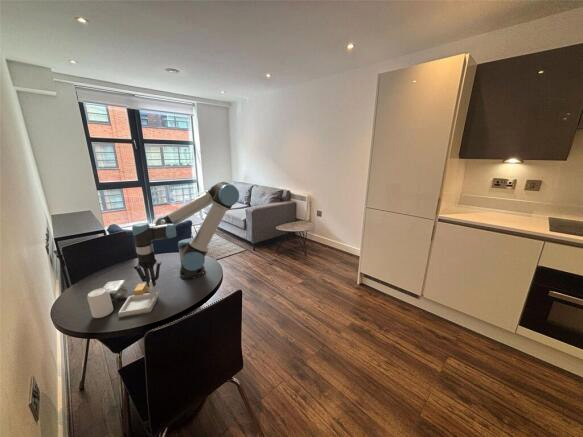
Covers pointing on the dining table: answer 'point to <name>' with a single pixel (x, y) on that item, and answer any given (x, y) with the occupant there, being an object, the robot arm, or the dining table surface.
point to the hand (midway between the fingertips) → (152, 291)
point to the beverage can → (100, 302)
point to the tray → (138, 304)
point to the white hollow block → (116, 290)
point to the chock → (141, 289)
